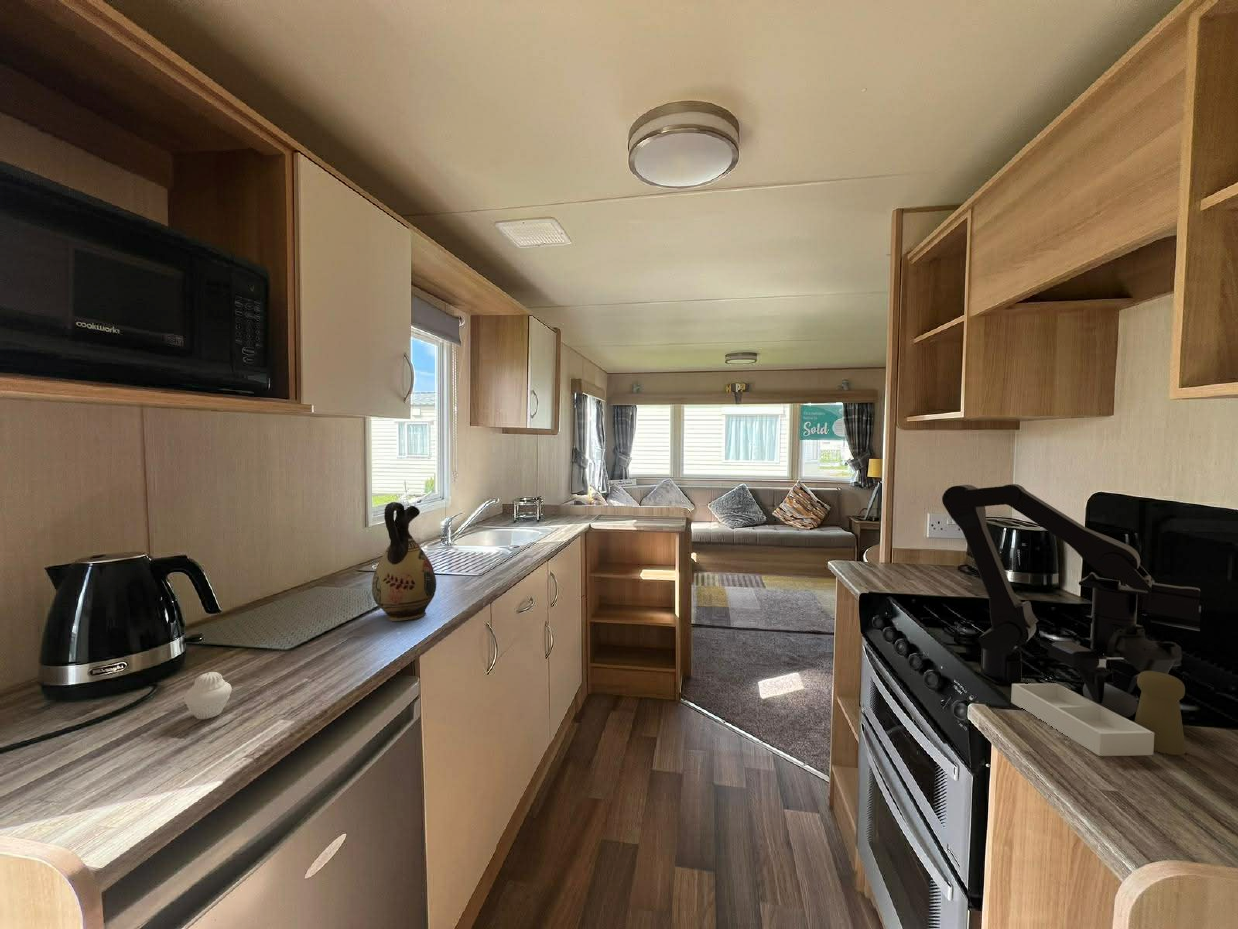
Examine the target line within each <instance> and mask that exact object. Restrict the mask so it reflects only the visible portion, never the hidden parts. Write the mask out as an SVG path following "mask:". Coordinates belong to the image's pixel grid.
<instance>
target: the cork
mask: <svg viewBox="0 0 1238 929" xmlns="http://www.w3.org/2000/svg"><path fill="white" fill-rule="evenodd" d="M1136 685H1137V687H1138V689H1139V690H1140V691H1141V693H1140V697H1139V701H1138V707H1137V710H1136V712H1135V717H1134V720H1133V722H1134V723H1136V724H1138V725H1140V726H1142V727H1144V728H1146V729H1148V730H1150V731H1152V732H1154V749H1153V752H1157V753H1158V752H1159V753H1161V754H1165V755H1170V756H1171V755H1172V756H1184V755H1186V754H1185V753H1186V752H1187V751H1186V743H1185V735H1184V727H1183V722H1182V721H1183V720H1182V713H1181V706H1180V704H1181V703H1180V700H1182V699H1184V697H1185V694H1186V687H1185V684H1184V682H1182V680H1181V679H1179V678H1177V677H1176V676H1173V675H1172V674H1169V673H1168V674H1165V673H1161V672H1156V671H1143V672H1141V673H1140V674H1139V675H1138V678H1137V684H1136ZM1166 753H1167V754H1166Z"/></svg>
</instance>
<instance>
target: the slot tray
mask: <svg viewBox="0 0 1238 929" xmlns="http://www.w3.org/2000/svg"><path fill="white" fill-rule="evenodd" d="M1010 696H1011V698H1010V703H1012V704H1013V705H1015V706H1017V707H1018V708H1019V709H1021V708H1023V709H1025V710H1026V711H1028V712H1030V713H1032V714H1033V715H1035V716H1036V717H1037V718H1036V717H1035V718H1036V719H1038V720H1039V719H1041V720H1042V721H1041V720H1040V721H1041V722H1043V721H1044V722H1046V723H1047V724H1046V723H1045V724H1046V725H1048V726H1049V727H1051V726H1052V727H1053V729H1054V730H1056V729H1057V730H1058V731H1057V730H1056V731H1057V732H1059V733H1061V734H1062V733H1063V735H1064V736H1066V737H1067V736H1068V737H1067V738H1069V739H1071V740H1072V741H1074V742H1075V743H1077V744H1078V745H1080V746H1082V747H1084V748H1085V749H1087V750H1089V751H1091V753H1094V754H1095V755H1097V756H1099V757H1121V756H1122V757H1123V756H1128V757H1129V756H1130V757H1131V756H1154V750H1153V749H1154V732H1152V731H1150V730H1148V729H1146V728H1144V727H1142V726H1140V725H1138V724H1136V723H1134V721H1132V720H1130V719H1128V718H1127V717H1122V716H1120V715H1118V714H1116V713H1114V712H1112V711H1110V710H1108V709H1107V708H1105V707H1103V706H1101V705H1099V704H1097V703H1095V702H1093V701H1091V700H1089V699H1087V698H1086V697H1085V696H1084V695H1083V696H1082V694H1079V693H1077V692H1076V691H1073V690H1072V689H1070V688H1067V687H1065V686H1063V685H1062V684H1060V683H1056V682H1055V683H1053V682H1052V683H1051V682H1050V683H1049V682H1048V683H1028V684H1011V695H1010ZM1023 709H1022V710H1023ZM1025 710H1024V711H1025ZM1026 711H1025V712H1026ZM1028 712H1027V713H1028ZM1030 713H1029V714H1030ZM1033 715H1032V716H1033ZM1044 722H1043V723H1044ZM1052 727H1051V728H1052Z"/></svg>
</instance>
